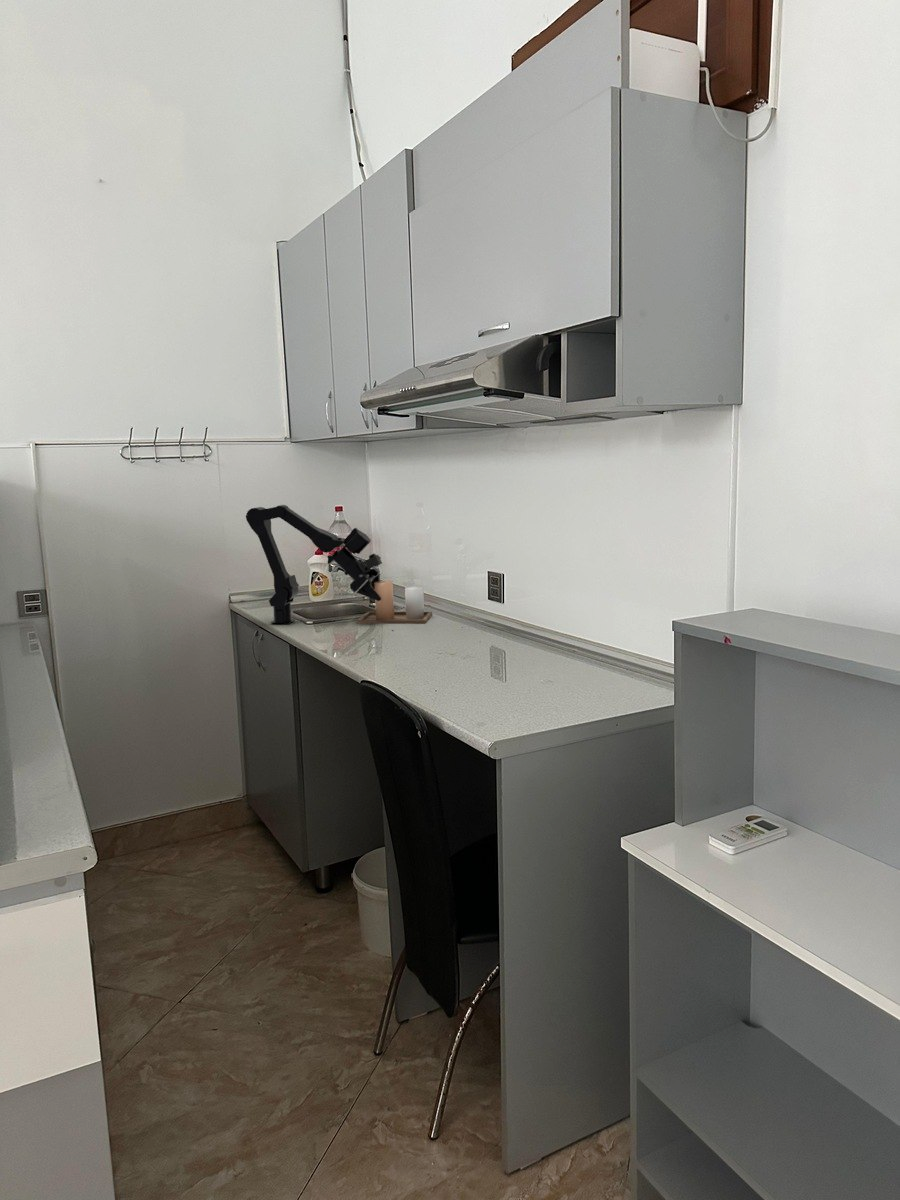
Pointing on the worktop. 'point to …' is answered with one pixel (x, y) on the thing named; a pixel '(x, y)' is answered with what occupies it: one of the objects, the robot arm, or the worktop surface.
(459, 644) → the worktop surface
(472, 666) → the worktop surface
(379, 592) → the peach tapered cylinder
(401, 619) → the walnut tray
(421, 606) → the white rounded cylinder
